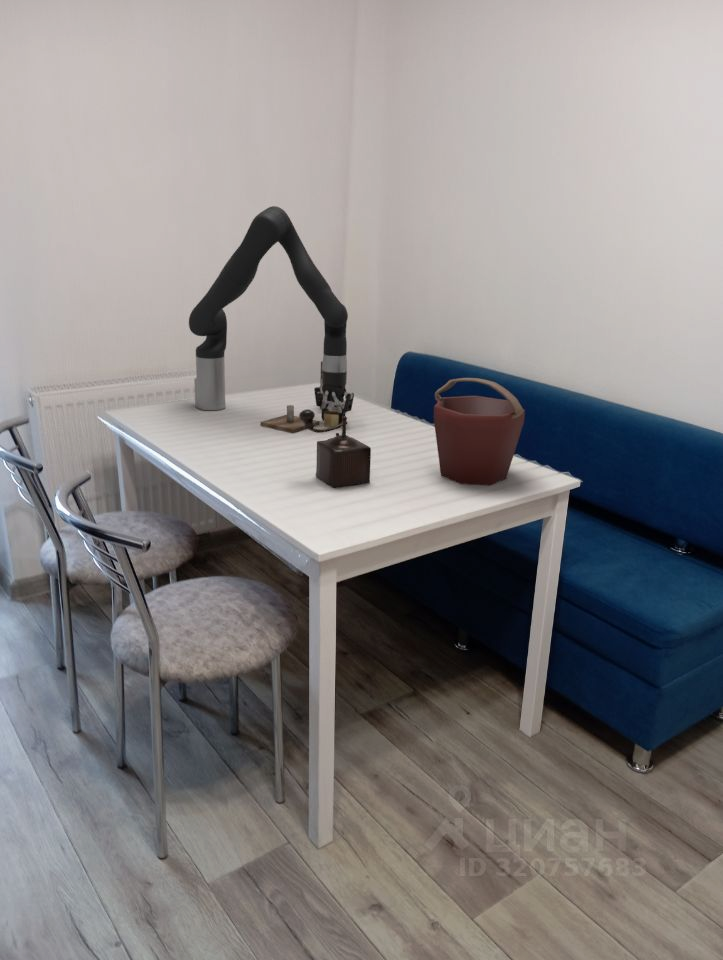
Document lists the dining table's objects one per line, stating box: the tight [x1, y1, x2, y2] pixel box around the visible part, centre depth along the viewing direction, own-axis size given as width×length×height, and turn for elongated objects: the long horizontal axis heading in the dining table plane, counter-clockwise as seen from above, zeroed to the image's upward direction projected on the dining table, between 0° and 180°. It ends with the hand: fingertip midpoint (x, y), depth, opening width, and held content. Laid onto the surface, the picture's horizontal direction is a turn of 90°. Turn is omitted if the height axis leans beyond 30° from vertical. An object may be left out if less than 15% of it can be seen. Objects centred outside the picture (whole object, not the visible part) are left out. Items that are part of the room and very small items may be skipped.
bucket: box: [433, 377, 526, 486], centre depth 205 cm, size 24×22×25 cm
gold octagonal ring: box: [323, 411, 339, 428], centre depth 251 cm, size 6×6×4 cm
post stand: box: [260, 404, 320, 434], centre depth 249 cm, size 13×13×6 cm
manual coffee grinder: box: [298, 409, 372, 489], centre depth 198 cm, size 16×11×18 cm
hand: (333, 422), depth 251 cm, fingers closed on gold octagonal ring, 5 cm apart
